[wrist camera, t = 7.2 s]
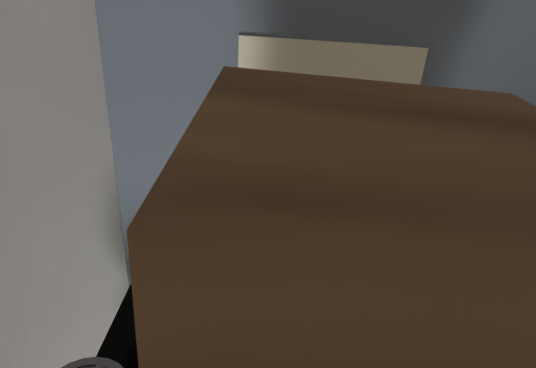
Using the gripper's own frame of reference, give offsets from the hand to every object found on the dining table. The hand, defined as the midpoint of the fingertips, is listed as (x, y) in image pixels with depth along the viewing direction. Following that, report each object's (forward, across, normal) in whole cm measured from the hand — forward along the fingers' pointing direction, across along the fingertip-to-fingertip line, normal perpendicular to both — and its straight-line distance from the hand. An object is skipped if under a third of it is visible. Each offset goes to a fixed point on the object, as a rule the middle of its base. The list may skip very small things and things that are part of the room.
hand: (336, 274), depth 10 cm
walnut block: (+1, 0, 0) cm, 1 cm away
